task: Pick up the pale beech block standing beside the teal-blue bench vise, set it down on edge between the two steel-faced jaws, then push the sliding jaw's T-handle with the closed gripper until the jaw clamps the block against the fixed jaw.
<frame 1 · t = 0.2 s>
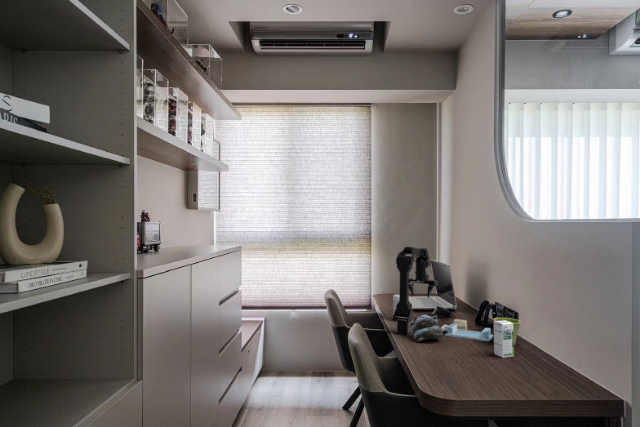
hand: (420, 296, 242), 15 cm above the table, tool pointing down, fingers open, 9 cm apart
supplement tub: (401, 321, 245), on the table
beech block: (460, 329, 225), on the table
vise base: (469, 335, 213), on the table
syrup box: (503, 355, 182), on the table
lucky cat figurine: (425, 340, 206), on the table
sliding jaw: (448, 328, 219), point 2 cm above the table, slide at 0.0 cm, touching vise base
plant pot: (507, 344, 199), on the table
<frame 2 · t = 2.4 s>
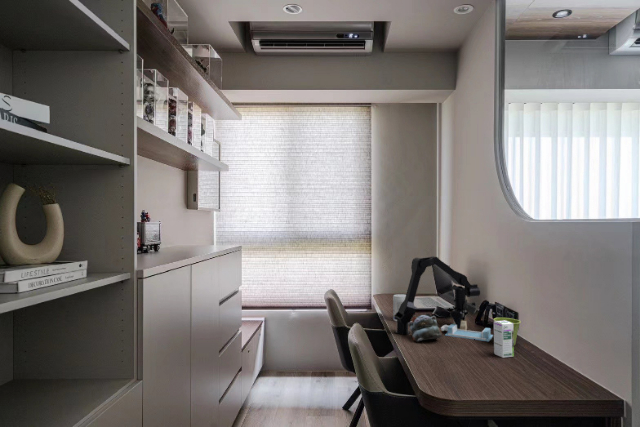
hand: (460, 326, 225), 1 cm above the table, tool pointing down, fingers open, 8 cm apart
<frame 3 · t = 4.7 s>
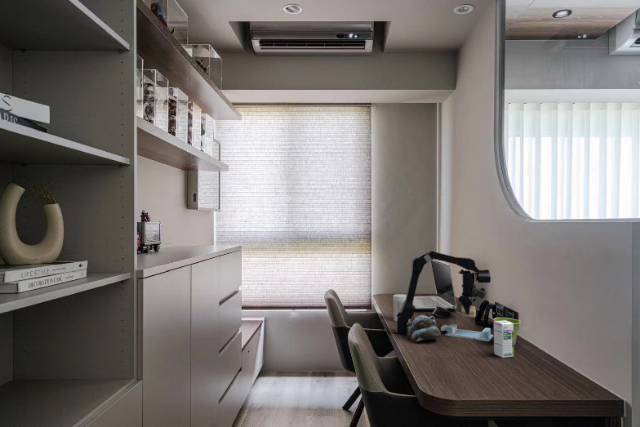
hand: (468, 313, 214), 11 cm above the table, tool pointing down, fingers closed on beech block, 4 cm apart
beech block: (468, 315, 214), point 10 cm above the table, touching gripper
when the fingers open (3 cm above the table, at t = 6.2 s): beech block drops 2 cm, resting on vise base.
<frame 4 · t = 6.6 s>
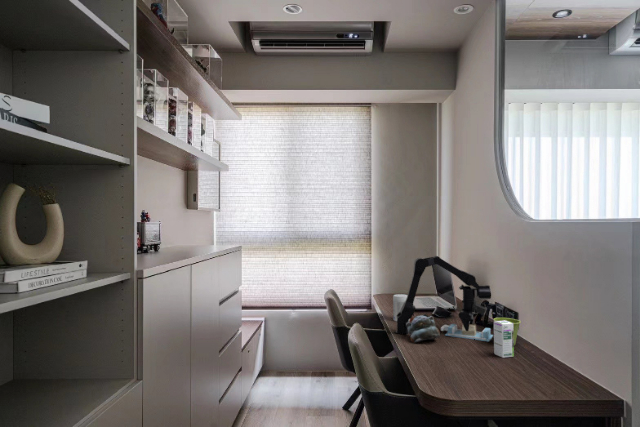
hand: (468, 329, 214), 3 cm above the table, tool pointing down, fingers open, 8 cm apart
beech block: (469, 334, 213), resting on vise base
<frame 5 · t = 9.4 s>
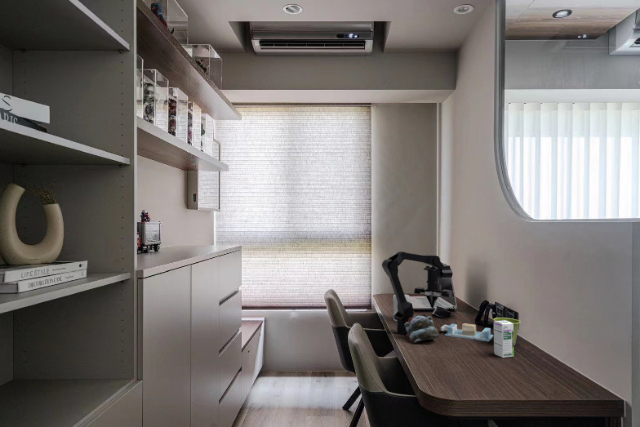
hand: (432, 308, 223), 12 cm above the table, tool pointing down, fingers closed
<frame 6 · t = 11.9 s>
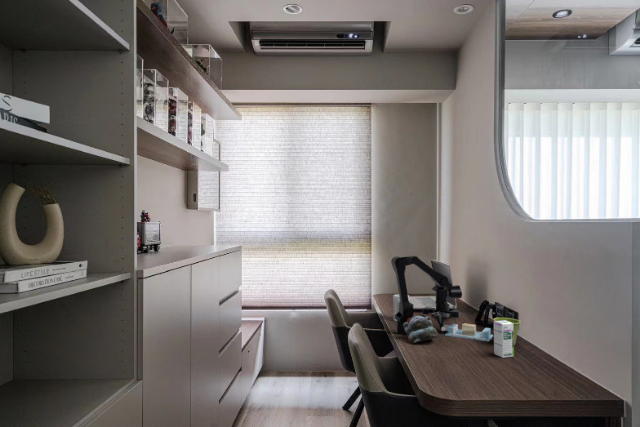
hand: (441, 328, 221), 2 cm above the table, tool pointing down, fingers closed
sliding jaw: (449, 328, 218), point 2 cm above the table, slide at 0.4 cm, touching gripper, vise base
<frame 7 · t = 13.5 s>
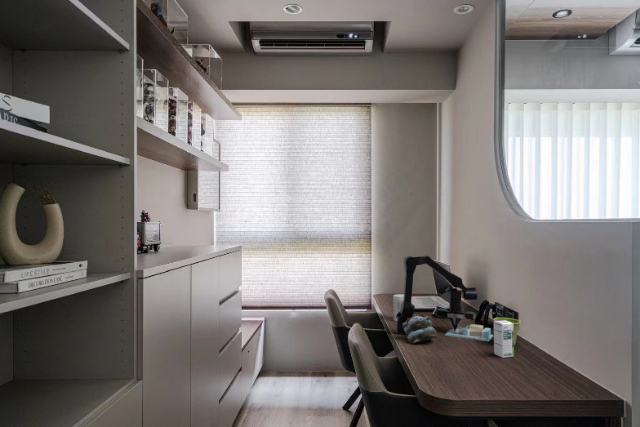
hand: (455, 330, 217), 2 cm above the table, tool pointing down, fingers closed
beech block: (476, 335, 212), point 1 cm above the table, touching sliding jaw
sliding jaw: (463, 330, 215), point 2 cm above the table, slide at 7.5 cm, touching beech block, gripper, vise base
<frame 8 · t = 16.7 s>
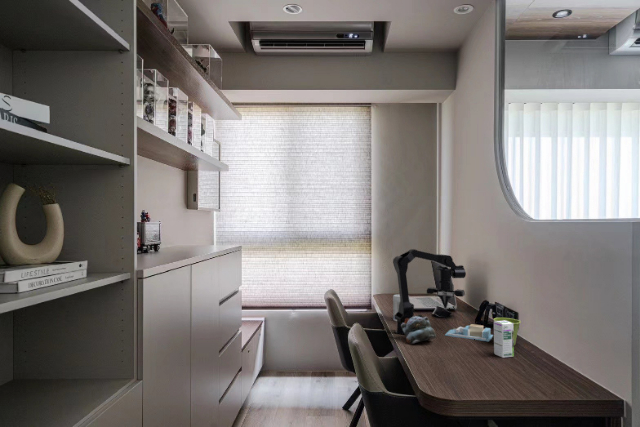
hand: (445, 308, 223), 12 cm above the table, tool pointing down, fingers closed
beech block: (476, 335, 212), resting on vise base, touching sliding jaw
sliding jaw: (464, 330, 215), point 2 cm above the table, slide at 7.7 cm, touching beech block, vise base
at the end: sliding jaw slide at 7.7 cm; beech block 0.3 cm from the target spot, point 0.5 cm above the table; beech block tilted 0° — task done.
